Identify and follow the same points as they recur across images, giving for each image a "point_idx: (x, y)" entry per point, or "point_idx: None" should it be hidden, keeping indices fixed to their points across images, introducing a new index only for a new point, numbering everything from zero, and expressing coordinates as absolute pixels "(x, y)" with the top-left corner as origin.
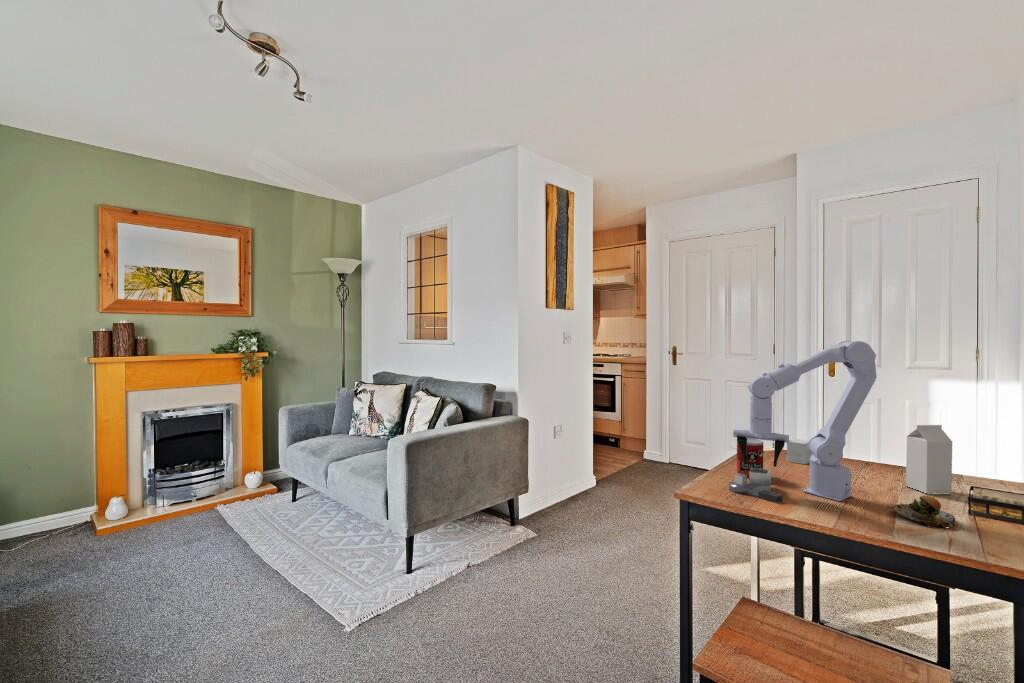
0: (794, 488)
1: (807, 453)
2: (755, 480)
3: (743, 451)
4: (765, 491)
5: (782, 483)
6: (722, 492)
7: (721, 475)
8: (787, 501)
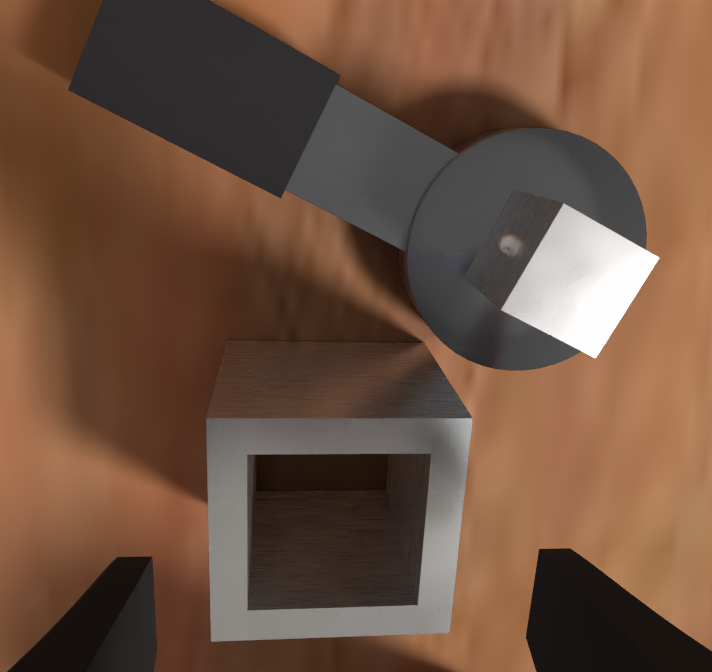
0: (19, 570)
1: None
2: (380, 377)
3: (696, 663)
4: (262, 129)
5: None
6: (689, 84)
7: None
8: (35, 92)
